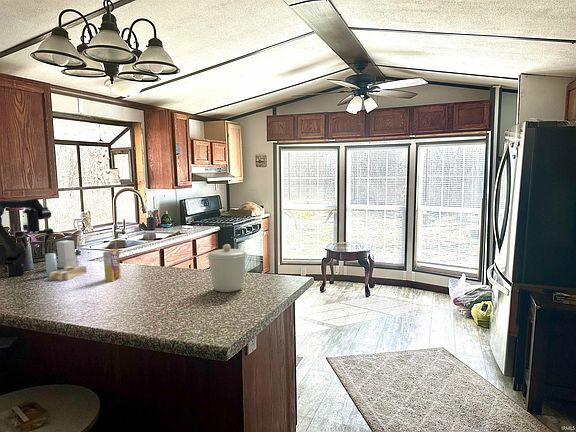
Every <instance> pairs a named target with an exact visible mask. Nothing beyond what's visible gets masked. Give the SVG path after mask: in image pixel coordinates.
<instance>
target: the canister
mask: <svg viewBox="0 0 576 432" xmlns="http://www.w3.org/2000/svg"><path fill="white" fill-rule="evenodd" d="M247 255H248V253H247V252H245V251H244V250H242V249H237V248H232V246H231V244H228V243H226V244H223V245H222V248H221V249H215V250H212V251H210V252H209V253H207V255H206V257H207V258H208V263H209V270H210V278H211V283H212V287H213V289H214V291H217V292H220V293H231V292H233V293H234V292H237V291H239V290H241V289H242V287H243V286H244V279H245V278H244V277H245V269H246V267H245V266H246V256H247Z"/></svg>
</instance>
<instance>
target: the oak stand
mask: <svg viewBox="0 0 576 432" xmlns="http://www.w3.org/2000/svg"><path fill="white" fill-rule="evenodd" d="M63 270H64V271H63ZM63 270H57V271H54V272H52V273H49V274H50V277H49V280H50V281H70V280H71V279H74V278H77V277H80V276H82V275H85V274H87V273H88V271H87V266H83V265H80V266H77V265H76V266H69V267H66V268H63Z"/></svg>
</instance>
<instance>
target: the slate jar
mask: <svg viewBox="0 0 576 432" xmlns="http://www.w3.org/2000/svg"><path fill="white" fill-rule="evenodd" d="M44 258H45V269H46V270H45V271H46V277H47V278H50V274H49V273H52V272H54V271H58V265H57V264H58V263H57V262H58V260H57V253H56V252H51V253H45V255H44Z"/></svg>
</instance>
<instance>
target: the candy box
mask: <svg viewBox="0 0 576 432" xmlns="http://www.w3.org/2000/svg"><path fill="white" fill-rule="evenodd" d="M102 253H103V254H102V256H103V257H102V258H103V266H104V267H103V268H104V276H105V277H104V278H105V279H104V280H105V282H108V283H109V282H111V283H112V282H115V281H117V280H119V279H120V278H122V274H121V273H122V272H121V262H120V251H119V248H111V249H108V250H105V251H103V252H102Z"/></svg>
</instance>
